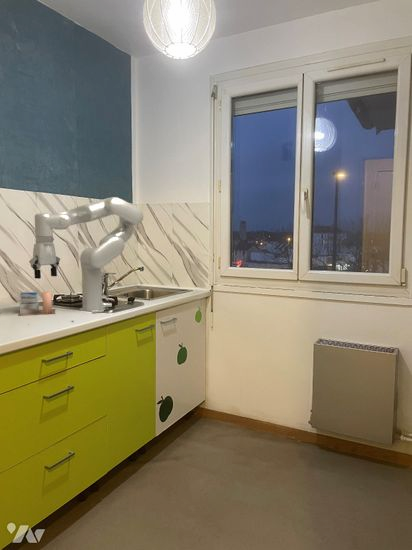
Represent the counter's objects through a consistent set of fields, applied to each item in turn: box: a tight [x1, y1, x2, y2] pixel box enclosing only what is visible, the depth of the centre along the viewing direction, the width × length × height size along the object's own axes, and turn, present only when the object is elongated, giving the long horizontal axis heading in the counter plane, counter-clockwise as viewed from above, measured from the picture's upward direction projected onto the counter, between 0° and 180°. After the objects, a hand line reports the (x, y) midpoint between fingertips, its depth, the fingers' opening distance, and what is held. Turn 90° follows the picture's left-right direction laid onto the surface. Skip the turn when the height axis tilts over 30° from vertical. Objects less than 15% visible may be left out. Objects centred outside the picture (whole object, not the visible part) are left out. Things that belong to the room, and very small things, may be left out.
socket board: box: [17, 301, 56, 317], centre depth 195 cm, size 16×14×5 cm
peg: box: [41, 291, 53, 315], centre depth 192 cm, size 4×4×10 cm
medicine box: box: [19, 291, 38, 303], centre depth 210 cm, size 8×4×9 cm, turn 112°
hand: (46, 277), depth 191 cm, fingers open, 9 cm apart
